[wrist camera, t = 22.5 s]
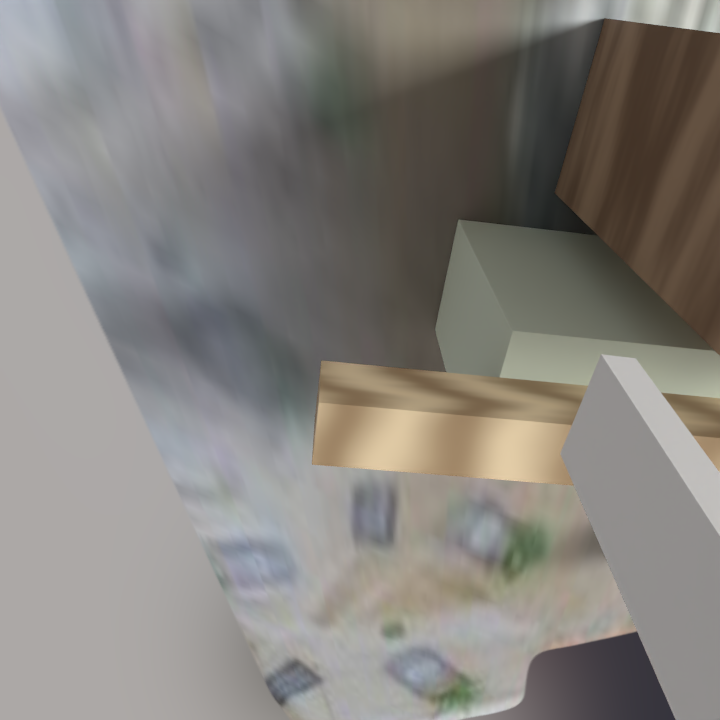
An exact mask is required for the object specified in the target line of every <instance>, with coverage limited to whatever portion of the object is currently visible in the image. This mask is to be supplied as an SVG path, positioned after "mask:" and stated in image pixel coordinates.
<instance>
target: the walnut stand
mask: <svg viewBox="0 0 720 720" xmlns="http://www.w3.org/2000/svg"><path fill="white" fill-rule="evenodd" d="M555 194H556V195H557V196H558V197H559V198H560V199H561V200H562V201H563V202H564V203H565V204H566V205H567V206H568V207H569V208H570V209H571V210H572V211H573V212H574V213H575V214H576V215H577V216H578V217H579V218H580V219H581V220H583V221H584V222H585V223H586V224H587V225H588V226H589V227H590V228H591V229H592V230H593V231H594V232H595V233H596V234H597V235H598V236H599V237H600V238H601V239H602V240H603V241H604V242H605V243H606V244H607V245H608V246H609V247H610V248H611V249H612V250H613V251H614V252H615V253H616V254H617V255H618V256H619V257H620V258H621V259H622V260H623V261H624V262H625V263H626V264H627V265H628V266H629V267H630V268H631V269H632V270H633V271H634V272H635V273H636V274H637V275H638V276H639V277H640V278H641V279H642V280H643V281H644V282H645V283H646V284H647V285H648V286H649V287H651V288H652V289H653V290H654V291H655V292H656V293H657V294H658V295H659V296H660V297H661V298H662V299H663V300H664V301H665V302H666V303H667V304H668V305H669V306H670V307H671V308H672V309H673V310H674V311H675V312H676V313H677V314H678V315H679V316H680V317H681V318H682V319H683V320H684V321H685V322H686V323H687V324H688V325H689V326H690V327H691V328H692V329H693V330H694V331H695V332H696V333H697V334H698V335H699V336H700V337H701V338H702V339H703V340H704V341H705V342H706V343H707V344H708V345H709V346H710V347H711V348H712V349H713V350H714V351H715V352H716V353H717V354H719V355H720V33H713V32H705V31H698V30H690V29H682V28H674V27H667V26H659V25H651V24H644V23H636V22H628V21H620V20H613V19H604V23H603V26H602V30H601V33H600V37H599V40H598V44H597V47H596V51H595V54H594V58H593V61H592V65H591V68H590V72H589V75H588V79H587V82H586V86H585V89H584V93H583V96H582V100H581V103H580V107H579V110H578V113H577V117H576V120H575V124H574V127H573V131H572V134H571V138H570V141H569V145H568V148H567V152H566V155H565V159H564V162H563V166H562V169H561V173H560V176H559V180H558V183H557V187H556V190H555Z"/></svg>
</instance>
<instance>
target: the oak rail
mask: <svg viewBox="0 0 720 720" xmlns="http://www.w3.org/2000/svg"><path fill="white" fill-rule="evenodd" d="M587 387H588V386H585V385H575V384H564V383H554V382H543V381H532V380H522V379H511V378H501V377H490V376H480V375H469V374H458V373H448V372H437V371H427V370H416V369H405V368H395V367H384V366H374V365H363V364H353V363H342V362H331V361H321V368H320V377H319V386H318V395H317V405H316V414H315V426H314V441H313V456H312V465H325V466H337V467H350V468H362V469H375V470H387V471H399V472H412V473H424V474H437V475H449V476H462V477H474V478H487V479H499V480H512V481H524V482H536V483H549V484H561V485H574V484H573V482H572V480H571V478H570V475H569V473H568V471H567V468H566V466H565V464H564V461H563V459H562V457H561V455H560V453H561V450H562V448H563V446H564V443H565V441H566V438H567V436H568V433H569V431H570V429H571V426H572V424H573V421H574V419H575V416H576V414H577V412H578V409H579V407H580V404H581V402H582V399H583V397H584V395H585V392H586V390H587ZM662 395H663V396H664V397H665V399H666V400H667V402H668V403H669V404H670V406H671V407H672V408H673V410H674V411H675V412H676V414H677V415H678V417H679V418H680V419H681V421H682V422H683V423H684V425H685V426H686V427H687V429H688V430H689V432H690V433H691V434H692V436H693V437H694V438H695V440H696V441H697V442H698V444H699V445H700V447H701V448H702V449H703V451H704V452H705V453H706V455H707V456H708V457H709V459H710V460H711V462H712V463H713V464H714V466H715V467H716V468H717V470H718V471H719V472H720V398H712V397H702V396H691V395H680V394H670V393H662Z"/></svg>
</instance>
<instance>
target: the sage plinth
mask: <svg viewBox="0 0 720 720" xmlns="http://www.w3.org/2000/svg"><path fill="white" fill-rule="evenodd" d="M435 332H436V336H437V339H438V343H439V347H440V351H441V354H442V358H443V362H444V366H445V370H446V372H448V373H458V374H469V375H480V376H490V377H501V378H511V379H522V380H532V381H543V382H554V383H564V384H575V385H585V386H588V385H589V383H590V380H591V378H592V375H593V373H594V370H595V368H596V366H597V363H598V361H599V358H600V356H601V354H603V355H612V356H620V357H629V358H636V359H637V361H638V362H639V363H640V365H641V366H642V368H643V369H644V370H645V372H646V373H647V374H648V376H649V377H650V378H651V380H652V381H653V383H654V384H655V385H656V387H657V388H658V389H659V391H660V392H661V393H670V394H680V395H691V396H702V397H712V398H720V355H719V354H717V353H716V352H715V351H714V350H713V349H712V348H711V347H710V346H709V345H708V344H707V343H706V342H705V341H704V340H703V339H702V338H701V337H700V336H699V335H698V334H697V333H696V332H695V331H694V330H693V329H692V328H691V327H690V326H689V325H688V324H687V323H686V322H685V321H684V320H683V319H682V318H681V317H680V316H679V315H678V314H677V313H676V312H675V311H674V310H673V309H672V308H671V307H670V306H669V305H668V304H667V303H666V302H665V301H664V300H663V299H662V298H661V297H660V296H659V295H658V294H657V293H656V292H655V291H654V290H653V289H652V288H651V287H649V286H648V285H647V284H646V283H645V282H644V281H643V280H642V279H641V278H640V277H639V276H638V275H637V274H636V273H635V272H634V271H633V270H632V269H631V268H630V267H629V266H628V265H627V264H626V263H625V262H624V261H623V260H622V259H621V258H620V257H619V256H618V255H617V254H616V253H615V252H614V251H613V250H612V249H611V248H610V247H609V246H608V245H607V244H606V243H605V242H604V241H603V240H602V239H601V238H600V237H599V236H598V235H589V234H581V233H572V232H563V231H555V230H546V229H537V228H528V227H520V226H511V225H502V224H493V223H485V222H476V221H467V220H459V219H458V223H457V228H456V233H455V237H454V242H453V247H452V252H451V256H450V261H449V266H448V270H447V275H446V280H445V285H444V289H443V294H442V299H441V304H440V308H439V313H438V318H437V323H436V327H435Z"/></svg>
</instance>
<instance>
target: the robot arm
mask: <svg viewBox="0 0 720 720" xmlns="http://www.w3.org/2000/svg"><path fill="white" fill-rule="evenodd" d="M560 455H561V457H562V459H563V461H564V464H565V466H566V468H567V471H568V473H569V475H570V478H571V480H572V482H573V484H574V487H575V489H576V491H577V494H578V496H579V498H580V501H581V503H582V505H583V507H584V510H585V512H586V514H587V517H588V519H589V521H590V524H591V526H592V528H593V530H594V533H595V535H596V537H597V540H598V542H599V544H600V547H601V549H602V551H603V553H604V556H605V558H606V560H607V563H608V565H609V567H610V570H611V572H612V574H613V576H614V579H615V581H616V583H617V586H618V588H619V590H620V593H621V595H622V597H623V599H624V602H625V604H626V606H627V609H628V611H629V613H630V616H631V618H632V620H633V622H634V625H635V627H636V629H637V632H638V634H639V636H640V639H641V641H642V643H643V645H644V648H645V650H646V652H647V655H648V657H649V659H650V662H651V664H652V666H653V668H654V671H655V673H656V675H657V678H658V680H659V682H660V685H661V687H662V689H663V691H664V694H665V696H666V698H667V700H668V703H669V705H670V708H671V710H672V712H673V714H674V717H675V719H676V720H720V472H719V471H718V470H717V468H716V467H715V466H714V464H713V463H712V462H711V460H710V459H709V457H708V456H707V455H706V453H705V452H704V451H703V449H702V448H701V447H700V445H699V444H698V442H697V441H696V440H695V438H694V437H693V436H692V434H691V433H690V432H689V430H688V429H687V427H686V426H685V425H684V423H683V422H682V421H681V419H680V418H679V417H678V415H677V414H676V412H675V411H674V410H673V408H672V407H671V406H670V404H669V403H668V402H667V400H666V399H665V397H664V396H663V395H662V393H661V392H660V391H659V389H658V388H657V387H656V385H655V384H654V383H653V381H652V380H651V378H650V377H649V376H648V374H647V373H646V372H645V370H644V369H643V368H642V366H641V365H640V363H639V362H638V361H637V359H636V358H629V357H620V356H612V355H603V354H601V356H600V358H599V361H598V363H597V366H596V368H595V370H594V373H593V375H592V378H591V380H590V383H589V385H588V387H587V390H586V392H585V395H584V397H583V399H582V402H581V404H580V407H579V409H578V412H577V414H576V416H575V419H574V421H573V424H572V426H571V429H570V431H569V433H568V436H567V438H566V441H565V443H564V446H563V448H562V450H561V453H560Z"/></svg>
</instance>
